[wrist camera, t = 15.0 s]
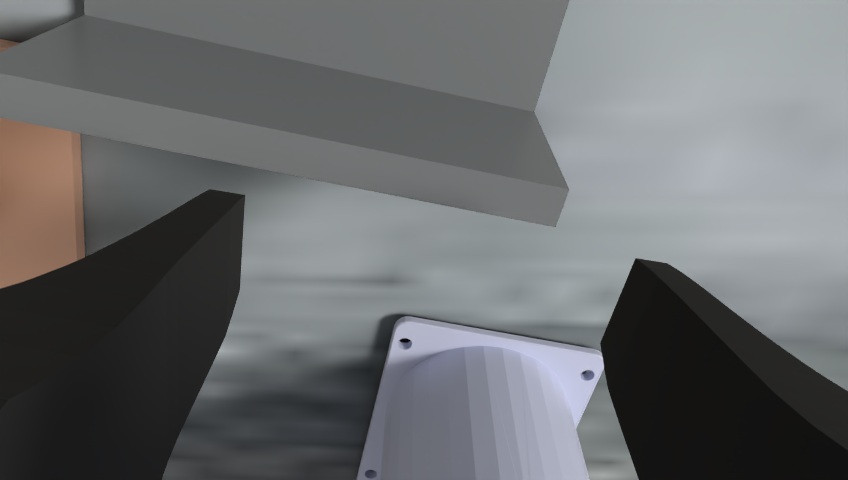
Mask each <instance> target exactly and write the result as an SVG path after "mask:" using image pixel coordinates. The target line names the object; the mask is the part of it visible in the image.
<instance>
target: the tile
mask: <svg viewBox="0 0 848 480" xmlns="http://www.w3.org/2000/svg"><path fill="white" fill-rule="evenodd" d="M18 44H20V43H17V42H13V41H8V40H3V39H0V52H2V51H4V50H6V49H9V48H11V47H13V46H15V45H18ZM84 257H85V239H84V213H83V187H82V161H81V135H80V133H75V132H70V131H65V130H60V129H55V128H50V127H45V126H39V125H34V124H29V123H24V122H19V121H14V120H9V119H4V118H0V289H1V288H4V287H7V286H10V285H14V284H17V283H20V282H23V281H26V280H29V279H32V278H35V277H37V276H40V275H42V274H45V273H48V272H50V271H53V270H55V269H58V268H61V267H63V266H66V265H68V264H70V263H73V262H75V261H78V260H80V259H82V258H84Z"/></svg>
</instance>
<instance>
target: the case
mask: <svg viewBox="0 0 848 480" xmlns="http://www.w3.org/2000/svg"><path fill="white" fill-rule="evenodd" d="M568 2H569V0H84V15H83V16H80V17H78V18H76V19H74V20H71V21H69V22H67V23H65V24H63V25H60V26H58V27H56V28H54V29H51V30H49V31H47V32H45V33H42V34H40V35H38V36H36V37H33V38H31V39H29V40H27V41H24V42H22V43H20V44H18V45H15V46H13V47H11V48H9V49H6V50H4V51H2V52H0V118H4V119H9V120H14V121H19V122H24V123H29V124H34V125H39V126H45V127H50V128H55V129H60V130H65V131H70V132H75V133H80V134H85V135H90V136H95V137H100V138H105V139H110V140H116V141H121V142H126V143H131V144H136V145H141V146H146V147H151V148H156V149H161V150H166V151H171V152H176V153H181V154H187V155H192V156H197V157H202V158H207V159H212V160H217V161H222V162H227V163H232V164H237V165H242V166H247V167H252V168H258V169H263V170H268V171H273V172H278V173H283V174H288V175H293V176H298V177H303V178H308V179H313V180H318V181H324V182H329V183H334V184H339V185H344V186H349V187H354V188H359V189H364V190H369V191H374V192H379V193H384V194H389V195H395V196H400V197H405V198H410V199H415V200H420V201H425V202H430V203H435V204H440V205H445V206H450V207H455V208H460V209H466V210H471V211H476V212H481V213H486V214H491V215H496V216H501V217H506V218H511V219H516V220H521V221H526V222H531V223H537V224H542V225H547V226H552V227H556V224H557V222H558V219H559V216H560V213H561V211H562V208H563V205H564V202H565V200H566V197H567V194H568V191H569V188H568V186H567V184H566V181H565V179H564V177H563V175H562V173H561V170H560V168H559V166H558V164H557V162H556V159H555V157H554V155H553V153H552V150H551V148H550V146H549V144H548V142H547V139H546V137H545V135H544V133H543V131H542V128H541V126H540V124H539V122H538V120H537V117H536V115H535V113H534V111H535V107H536V104H537V101H538V98H539V95H540V92H541V88H542V85H543V82H544V79H545V76H546V72H547V69H548V66H549V63H550V60H551V57H552V53H553V50H554V47H555V44H556V41H557V37H558V34H559V31H560V28H561V25H562V22H563V18H564V15H565V12H566V9H567V6H568Z"/></svg>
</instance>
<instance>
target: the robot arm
mask: <svg viewBox="0 0 848 480" xmlns="http://www.w3.org/2000/svg"><path fill="white" fill-rule="evenodd" d="M244 203H245V195H241V194H235V193H229V192H223V191H216V190H208V191H206V192H204V193H202V194H200V195H199V196H197V197H195V198H193V199H192V200H190V201H188V202H187V203H185V204H183V205H182V206H180V207H178V208H177V209H175V210H173V211H172V212H170V213H168V214H167V215H165V216H163V217H161V218H160V219H158V220H156V221H154V222H153V223H151V224H149V225H147V226H146V227H144V228H142V229H140V230H139V231H137V232H135V233H133V234H131V235H129V236H127V237H125V238H123V239H121V240H119V241H117V242H115V243H113V244H111V245H109V246H107V247H105V248H103V249H101V250H99V251H97V252H95V253H93V254H91V255H89V256H87V257H84V258H82V259H80V260H78V261H75V262H73V263H70V264H68V265H66V266H63V267H61V268H58V269H55V270H53V271H50V272H48V273H45V274H42V275H40V276H37V277H35V278H32V279H29V280H26V281H23V282H20V283H17V284H14V285H10V286H7V287H4V288H1V289H0V480H162V477H163V474H164V471H165V468H166V465H167V462H168V459H169V457H170V455H171V452H172V450H173V447H174V445H175V443H176V440H177V438H178V435H179V433H180V431H181V429H182V427H183V425H184V423H185V421H186V419H187V416H188V414H189V412H190V410H191V408H192V406H193V404H194V402H195V400H196V397H197V395H198V393H199V391H200V389H201V387H202V385H203V383H204V381H205V379H206V376H207V374H208V372H209V370H210V368H211V366H212V364H213V362H214V359H215V357H216V355H217V353H218V351H219V349H220V346H221V344H222V342H223V340H224V338H225V335H226V332H227V329H228V326H229V323H230V320H231V317H232V314H233V310H234V307H235V304H236V300H237V297H238V294H239V290H240V275H241V257H242V239H243V221H244ZM402 338H407V339H409V340H411V341H410V342H408V343H403V342H400V339H402ZM600 344H601V351H602V353H601V352H600V351H598V350H596V349H591V348H586V347H580V346H574V345H569V344H563V343H557V342H552V341H546V340H541V339H535V338H529V337H524V336H518V335H512V334H507V333H501V332H495V331H490V330H484V329H478V328H473V327H467V326H462V325H456V324H450V323H445V322H439V321H433V320H428V319H422V318H416V317H411V316H405V317H402V318H400V319H398V320H397V321H396V323H395V325H394V329H393V333H392V337H391V341H390V345H389V349H388V353H387V357H386V361H385V365H384V369H383V373H382V377H381V381H380V386H379V390H378V394H377V398H376V402H375V406H374V410H373V414H372V418H371V422H370V426H369V430H368V434H367V438H366V442H365V446H364V450H363V454H362V458H361V462H360V467H359V471H358V475H357V479H356V480H590V479H589V475H588V472H587V468H586V464H585V461H584V457H583V453H582V450H581V446H580V442H579V439H578V435H577V431H576V427H577V425H578V423H579V421H580V419H581V417H582V414H583V412H584V410H585V408H586V406H587V403H588V401H589V399H590V397H591V395H592V393H593V390H594V388H595V386H596V384H597V382H598V380H599V377H600V375H601V373H602V371H603V369H604V370H605V375H606V380H607V385H608V390H609V393H610V396H611V399H612V402H613V405H614V408H615V411H616V414H617V417H618V420H619V423H620V426H621V429H622V432H623V435H624V438H625V441H626V444H627V447H628V449H629V452H630V455H631V458H632V461H633V464H634V467H635V470H636V473H637V476H638V478H639V480H848V391H847V390H845V389H843V388H842V387H840V386H838V385H837V384H835V383H833V382H832V381H830V380H828V379H827V378H825V377H824V376H822V375H821V374H819V373H818V372H816V371H815V370H813V369H811V368H810V367H808V366H807V365H806V364H804V363H803V362H801V361H800V360H798V359H797V358H796V357H794V356H793V355H791V354H790V353H788V352H787V351H786V350H784V349H783V348H781V347H780V346H778V345H777V344H776V343H774V342H773V341H772V340H770V339H769V338H767V337H766V336H765V335H763V334H762V333H761V332H759V331H758V330H757V329H755V328H754V327H753V326H751V325H750V324H749V323H747V322H746V321H745V320H744V319H742V318H741V317H740V316H738V315H737V314H736V313H734V312H733V311H732V310H731V309H729V308H728V307H727V306H725V305H724V304H723V303H722V302H720V301H719V300H718V299H716V298H715V297H714V296H713V295H711V294H710V293H709V292H707V291H706V290H705V289H704V288H702V287H701V286H700V285H698V284H697V283H696V282H694V281H693V280H691V279H690V278H689V277H687V276H686V275H685V274H683V273H682V272H680V271H679V270H677V269H676V268H674V267H672V266H671V265H669V264H667V263H661V262H655V261H649V260H643V259H637V258H636V259H635V261H634V264H633V266H632V268H631V271H630V273H629V276H628V278H627V280H626V283H625V285H624V288H623V290H622V292H621V295H620V297H619V300H618V302H617V304H616V307H615V309H614V312H613V314H612V316H611V319H610V321H609V324H608V326H607V328H606V331H605V333H604V336H603V338H602V340H601V343H600ZM585 370H591V371H590V372H589V373H587V374H582V372H583V371H585ZM369 470H374V471H369Z"/></svg>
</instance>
